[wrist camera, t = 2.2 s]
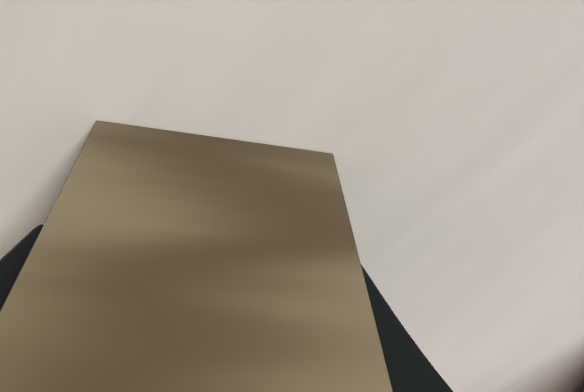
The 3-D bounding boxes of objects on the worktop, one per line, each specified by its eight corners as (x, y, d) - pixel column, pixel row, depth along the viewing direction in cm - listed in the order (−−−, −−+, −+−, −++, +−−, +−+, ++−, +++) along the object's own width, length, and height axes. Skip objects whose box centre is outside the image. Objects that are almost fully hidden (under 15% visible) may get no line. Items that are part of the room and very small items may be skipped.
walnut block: (333, 154, 11) (402, 434, 6) (289, 313, 13) (313, 605, 8) (96, 120, 10) (-49, 407, 5) (96, 295, 13) (-2, 604, 8)
